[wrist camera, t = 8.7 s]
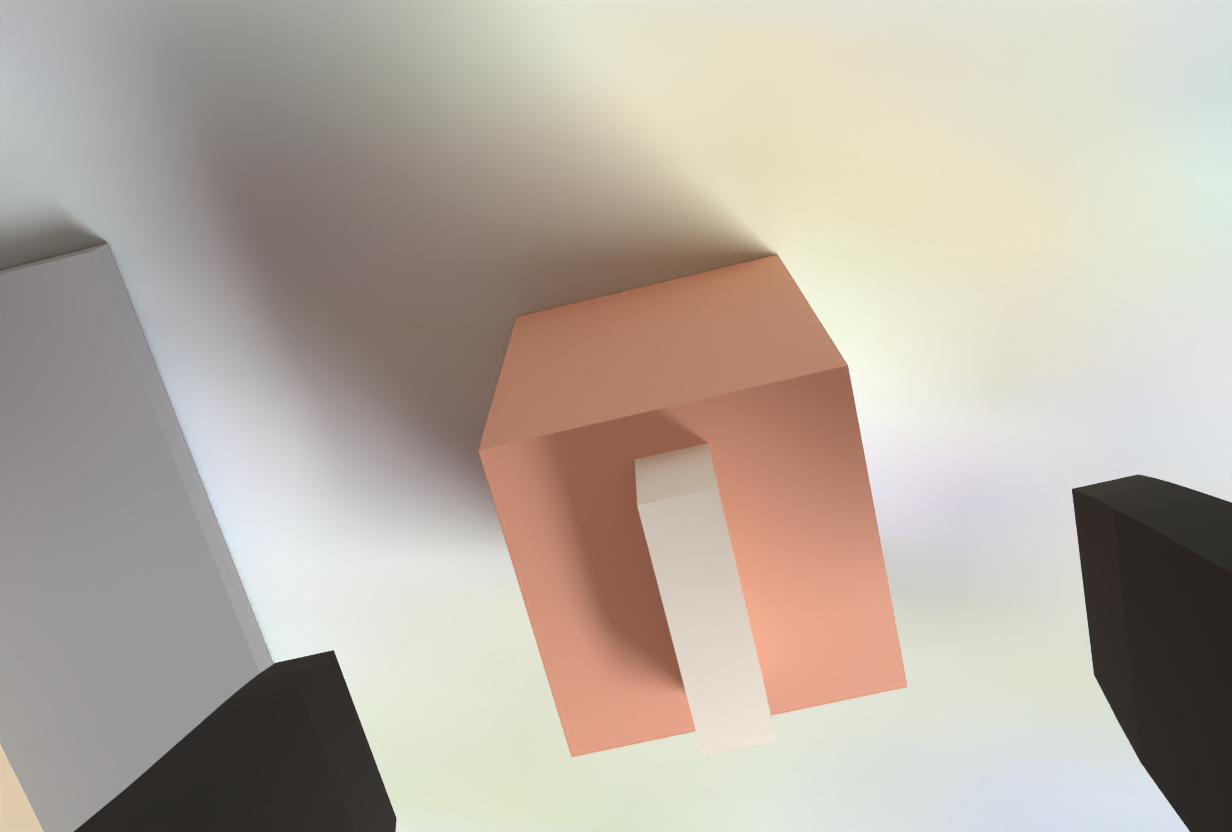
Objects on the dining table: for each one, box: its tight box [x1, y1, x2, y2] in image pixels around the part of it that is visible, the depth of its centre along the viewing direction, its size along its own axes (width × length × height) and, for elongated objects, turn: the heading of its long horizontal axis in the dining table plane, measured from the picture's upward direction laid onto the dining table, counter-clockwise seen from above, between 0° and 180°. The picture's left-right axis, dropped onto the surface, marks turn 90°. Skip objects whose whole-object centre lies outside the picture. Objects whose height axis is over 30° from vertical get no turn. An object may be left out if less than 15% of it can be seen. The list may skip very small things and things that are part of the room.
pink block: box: [478, 254, 907, 757], centre depth 15 cm, size 4×4×7 cm
